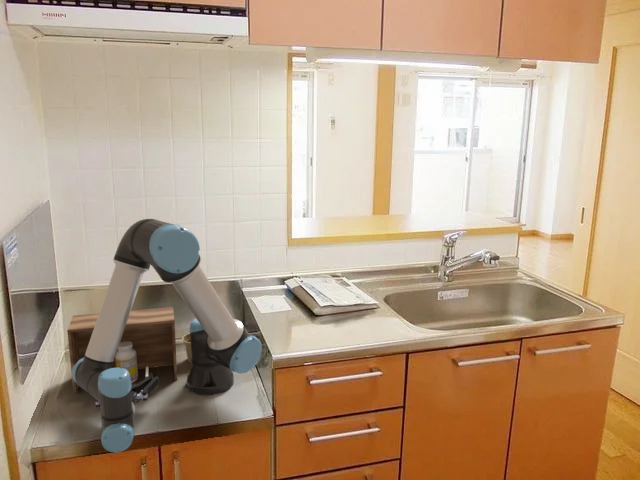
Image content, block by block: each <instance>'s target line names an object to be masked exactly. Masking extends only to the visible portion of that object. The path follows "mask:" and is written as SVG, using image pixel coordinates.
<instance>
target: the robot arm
mask: <svg viewBox="0 0 640 480" xmlns="http://www.w3.org/2000/svg"><path fill="white" fill-rule="evenodd" d="M200 251H201V247H200V242H199V240H198V238H197V237H196V235H195V233H193V232H192V231H191V230H190V229H187V228H185V227H184V226H181V225H179V224H175V223H170V222H166V221H165V222H164V221H161V220H158V219H154V218H145V219H144V218H143V219H139V220H138V221H136V222H134V223H133V224H132V225H130V227H128V229H127V230H126V231H125V233H123V236H122V237H121V239H120V241H119V244H118V246H117V248H116V251H115V254H114V257H113V262H114V264H115V266H114V269H113V272H112V274H111V278H110V280H109V282H108V286H107V290H106V292H105V296H104V297H103V300H102V304H101V307H100V309H99V315H98V318H97V321H96V324H95V327H94V330H93V333H92V336H91V339H90V342H89V345H88V348H87V350H86V353H85V356H84V358H82V359H80V360H79V361H78V362H77V363H76V364H75V365H74V366H73V369H72V372H71V379H72V378H73V380H74V381H75V382H76V383H77V385H78V388H81V389H83V390H84V391H85V392H86V395H87V397H89V398H90V399H91V400H92V401H93V403H94V404H95V407H96V408H100V418H101V433H100V438H101V446H102V447H103V448H104V450H105V451H107V452H110V453H120V452H121V453H122V452H123V451H125V450H127V449H129V447H130V446H131V445H132V443H133V440H134V436H135V417H136V416H135V413H136V402H137V401H138V400H137V399H139V400H140V399H142V401H143V402H144V401H145V402H146V401H147V400H148V399H149V397H150V395H151V394H152V393H153V392H154V391H155V389H157V387H158V386H160V385H159V384H160V379H159V376H154V377H153V372H149V371H150V370H149V369H150V368H148V367H146V368H145V379H143V380H141V381H140V382H139V383H137V384H135V385H134V384H133V385H132V383H131V380H130V374H129V372H128V371H127V370H126V369H124V368H121V369H120V368H111V367H112V364H113V361H114V358H115V355H116V352H117V349H118V346H119V344H120V341H121V338H122V335H123V332H124V329H125V326H126V323H127V320H128V317H129V314H130V311H132V308H133V305H134V303H135V299H136V297H137V293H138V291H139V288H140V285H141V281H142V279H143V276H144V274H145V273H146V272H148V271H149V270H150V268H151V267H152V268H153V269H154V270H155V271H154V272H156V273H157V274H158V276H159V278H160V279H161V280H162V281H163V282H164V283H167V284H171V285H173V287H174V289H175V290H176V292H177V293H178V295H179V296H180V297H181V299H182V300H183V302H184V303H185V305H186V306H187V307H188V309H189V310H190V312H191V313H192V314H193V317H195V318H193V319H192V320H191V322H190V324H189V333H190V341H191V362H190V363H191V364H190V366H189V371H188V372H189V373H188V374H187V377H186V387H187V389H188V390H189V392H192V393H194V394H197V395H202V396H210V395H216V394H220V393H223V392H225V391H227V390H229V389H230V388H231V387H232V386H233V384H234V381H235V379H234V373H237V374H246V373H248V372H249V371H251V370H253V368H255V366H256V365H257V363H258V362H259V360H260V358H261V355H262V350H263V348H262V347H263V345H262V343H261V340H260V339H259V338H257V337H256V335H251V334H250V333H249V331H248V330H247V329H246V327H245V326H244V324H243V322H242V321H241V320H239V319H236V318H234V317H233V316H232V315H231V313H230V312H229V310H228V309H227V307H226V305H225V304H224V302H223V301H222V299H221V297H220V296H219V294H218V293H217V292H216V289H215V288H214V287H213V285H212V283H211V281H210V280H209V279H208V277H207V275H206V274H205V272H204V271H203V269H202V267H200V264H201V261H202V258H201V256H200ZM139 393H140V394H139ZM136 400H137V401H136ZM135 401H136V402H135Z"/></svg>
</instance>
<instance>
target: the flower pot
mask: <svg viewBox="0 0 640 480" xmlns="http://www.w3.org/2000/svg"><path fill="white" fill-rule="evenodd" d="M181 340H182V342H183V344H184V348H185V351H186V352H185V353H186V359H187V361H188V362H190V363H191V341H190V332H189V333H186V334H185V335H182V338H181Z"/></svg>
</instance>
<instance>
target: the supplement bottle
mask: <svg viewBox="0 0 640 480" xmlns="http://www.w3.org/2000/svg"><path fill="white" fill-rule="evenodd" d="M132 347H133V344H132V342H130V341H125V342H121V343H120V344H119V346H118V351H117V352H116V355H115V363H116V368H120V369H121V368H124V369H126V370H127V371H128V372H129V374H130V380H131V384H132V383H134V382H136V381H137V380H138V378H139V371H138V370H139V369H137V355H136V351H135V350H134V349H132Z"/></svg>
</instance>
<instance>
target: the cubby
mask: <svg viewBox="0 0 640 480" xmlns="http://www.w3.org/2000/svg"><path fill="white" fill-rule="evenodd" d="M98 315H99V313H88V314H77V315H73V316H72V317H71V320H70V322H69V325H68V326H67V327H68V328H67V341H68V350H69V351H68V352H69V360H70V371H71V373H72V369H73V366H74V365H75V364H76V363H77V362H78V361H79V360H80V359H82V358H84V356H85V353H86V350H87V348H88V345H89V342H90V339H91V336H92V333H93V330H94V327H95V324H96V321H97V318H98ZM175 324H176V322H175V313H174V307H173V306H169V307H158V308H156V307H155V308H147V309H134V310H131V311H130V314H129V317H128V320H127V323H126V326H125V329H124V332H123V335H122V338H121V341H120V343H121V342H125V341H130V342H132V344H133V347H132V349H134V350H135V351H136V355H137V369H138V370H142V369H146V367H148V369H150V368H158V367H159V368H160V367H166V366H173V374H174V375H173V376H174V381H178V367H177V366H178V364H177V362H178V361H177V345H176V325H175ZM117 351H118V349H117ZM111 368H116V363H115V358H114V361H113V364H112V367H111ZM71 379H72V380H71V381H72V391H73V392H72V393H73V394H76V393H77V391H78V389H79V386H78V385H77V383H76V382H75V381H74V380H73V378H72V377H71Z"/></svg>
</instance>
